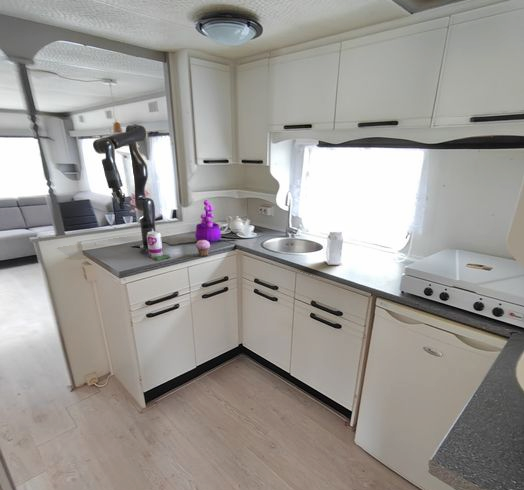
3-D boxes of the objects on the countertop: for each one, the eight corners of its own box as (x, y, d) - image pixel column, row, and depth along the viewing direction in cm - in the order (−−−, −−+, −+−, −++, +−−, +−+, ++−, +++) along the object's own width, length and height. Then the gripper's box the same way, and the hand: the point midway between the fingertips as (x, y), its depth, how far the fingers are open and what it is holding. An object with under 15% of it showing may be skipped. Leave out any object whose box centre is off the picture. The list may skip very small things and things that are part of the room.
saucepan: (162, 250, 216) (161, 244, 214) (153, 254, 206) (152, 249, 204) (136, 248, 220) (135, 242, 219) (126, 252, 210) (125, 246, 209)
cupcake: (200, 258, 201) (199, 242, 197) (194, 254, 207) (193, 239, 204) (212, 255, 206) (212, 240, 202) (206, 252, 212) (205, 237, 208)
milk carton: (325, 261, 199) (328, 230, 192) (336, 261, 199) (339, 230, 192) (328, 265, 192) (331, 233, 185) (340, 264, 193) (343, 233, 186)
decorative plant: (202, 237, 249) (200, 197, 237) (225, 239, 244) (223, 198, 233) (191, 243, 232) (187, 201, 220) (215, 246, 227) (213, 202, 216)
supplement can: (158, 258, 199) (156, 234, 193) (146, 257, 201) (143, 233, 195) (165, 254, 206) (163, 231, 200) (153, 253, 208) (151, 230, 202)
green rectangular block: (166, 256, 203) (165, 254, 202) (169, 257, 201) (168, 255, 200) (154, 259, 198) (154, 257, 197) (157, 260, 195) (157, 258, 195)
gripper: (124, 177, 177) (133, 209, 185) (114, 176, 185) (124, 206, 193) (111, 180, 172) (121, 212, 180) (101, 179, 181) (111, 209, 189)
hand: (122, 209), depth 187 cm, fingers closed
